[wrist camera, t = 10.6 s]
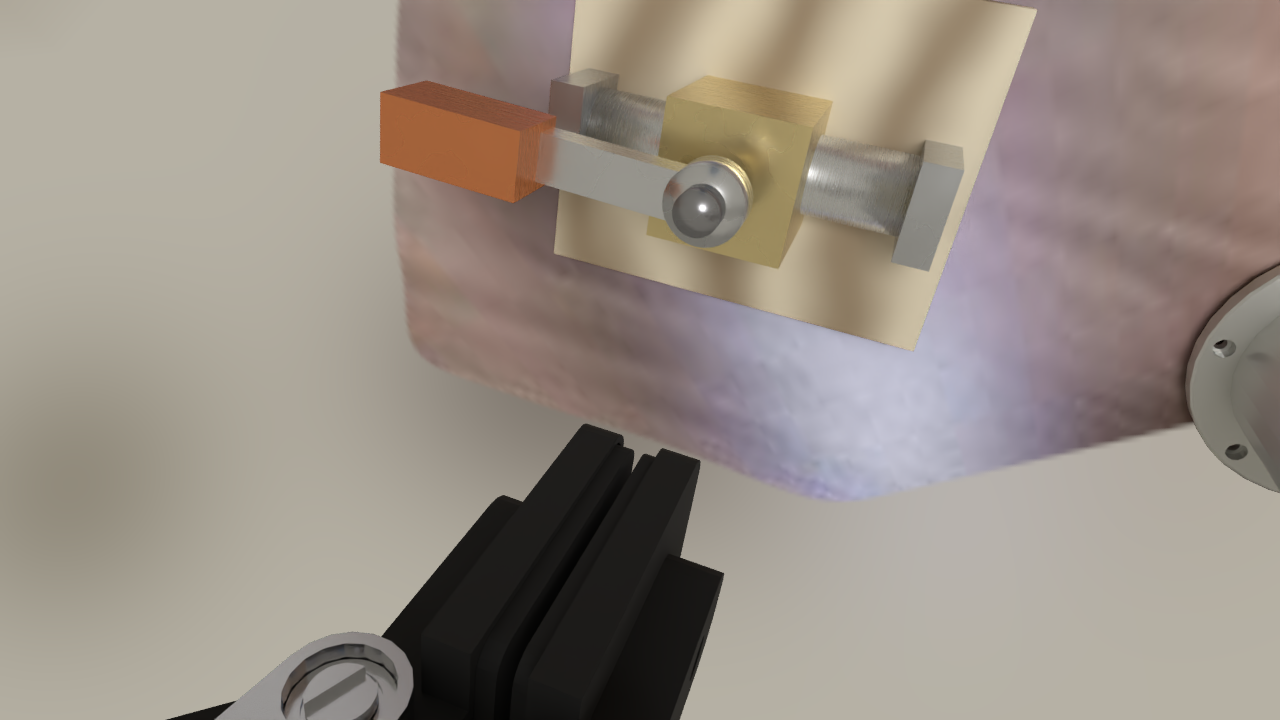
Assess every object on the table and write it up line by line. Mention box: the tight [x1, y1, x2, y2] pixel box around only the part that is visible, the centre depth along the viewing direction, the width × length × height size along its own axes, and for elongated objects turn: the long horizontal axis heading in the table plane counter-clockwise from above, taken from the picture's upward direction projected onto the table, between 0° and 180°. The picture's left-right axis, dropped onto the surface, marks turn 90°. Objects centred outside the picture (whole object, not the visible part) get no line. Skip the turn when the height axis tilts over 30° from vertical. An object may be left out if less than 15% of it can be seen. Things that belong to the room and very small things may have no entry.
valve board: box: [554, 0, 1037, 351], centre depth 38 cm, size 20×16×2 cm
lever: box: [380, 81, 753, 248], centre depth 30 cm, size 15×3×3 cm, turn 79°
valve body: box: [549, 68, 965, 272], centre depth 34 cm, size 18×6×8 cm, turn 82°
